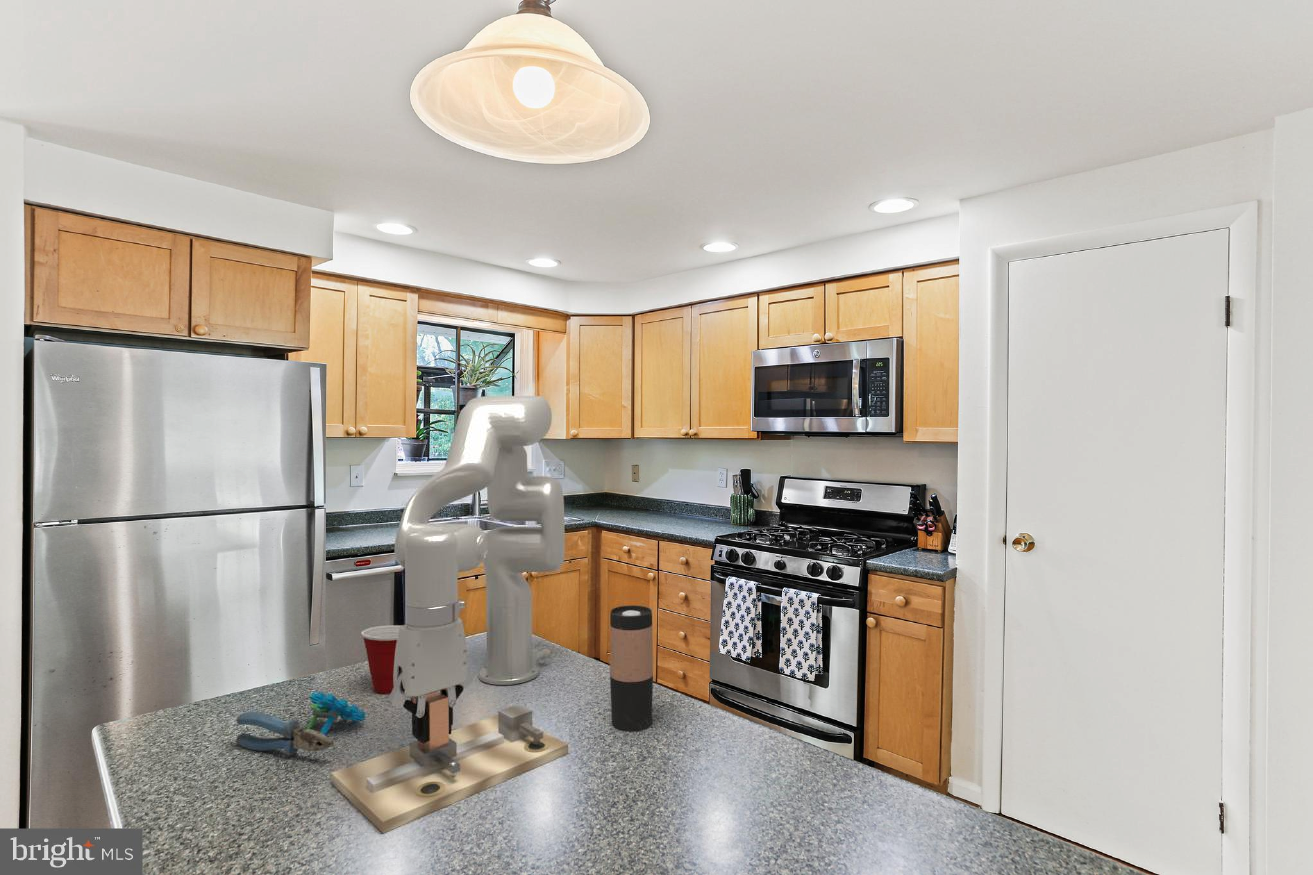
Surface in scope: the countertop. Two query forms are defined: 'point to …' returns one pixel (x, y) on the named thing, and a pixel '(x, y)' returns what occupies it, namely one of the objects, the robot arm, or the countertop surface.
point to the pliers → (290, 731)
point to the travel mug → (631, 667)
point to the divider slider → (437, 737)
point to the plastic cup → (381, 655)
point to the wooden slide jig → (485, 756)
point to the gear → (332, 710)
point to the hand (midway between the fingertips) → (432, 734)
